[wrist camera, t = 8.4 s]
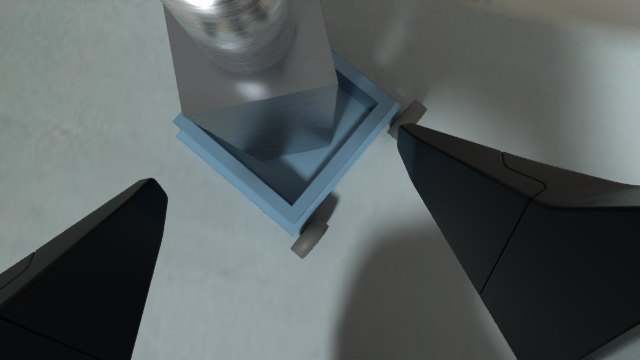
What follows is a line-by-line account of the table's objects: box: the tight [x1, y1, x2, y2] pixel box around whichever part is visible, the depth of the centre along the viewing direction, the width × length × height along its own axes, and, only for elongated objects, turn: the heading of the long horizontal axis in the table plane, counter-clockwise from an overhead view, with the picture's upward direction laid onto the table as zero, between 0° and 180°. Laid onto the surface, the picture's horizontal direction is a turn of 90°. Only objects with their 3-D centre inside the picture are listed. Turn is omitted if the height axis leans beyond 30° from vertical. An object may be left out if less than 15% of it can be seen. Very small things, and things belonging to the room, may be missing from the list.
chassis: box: [173, 50, 427, 259], centre depth 18 cm, size 13×12×3 cm
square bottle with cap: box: [161, 0, 338, 161], centre depth 12 cm, size 5×5×13 cm
